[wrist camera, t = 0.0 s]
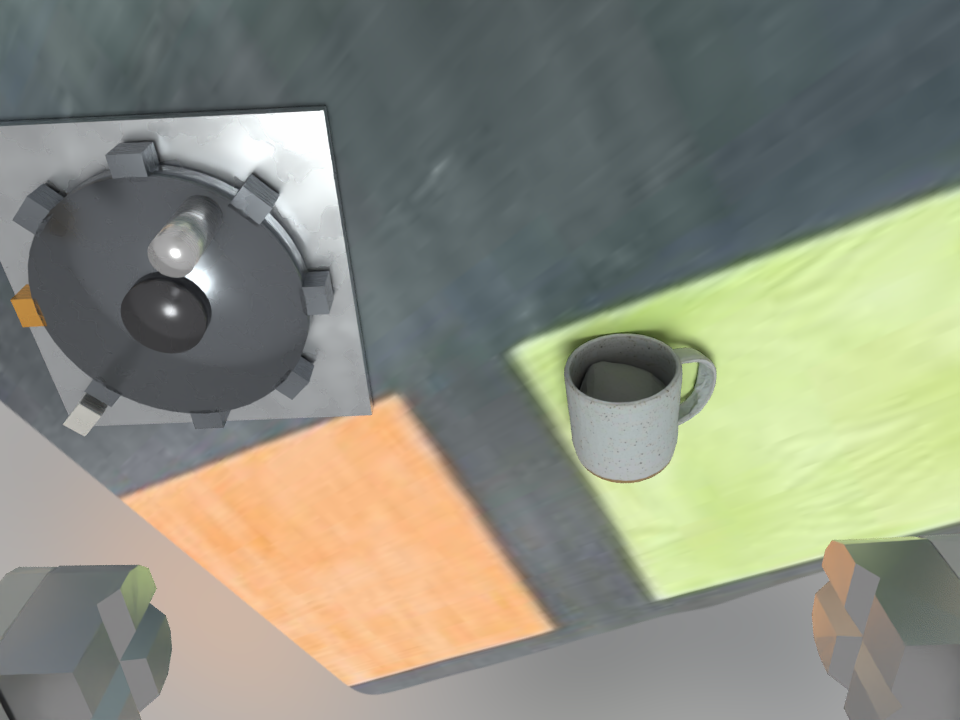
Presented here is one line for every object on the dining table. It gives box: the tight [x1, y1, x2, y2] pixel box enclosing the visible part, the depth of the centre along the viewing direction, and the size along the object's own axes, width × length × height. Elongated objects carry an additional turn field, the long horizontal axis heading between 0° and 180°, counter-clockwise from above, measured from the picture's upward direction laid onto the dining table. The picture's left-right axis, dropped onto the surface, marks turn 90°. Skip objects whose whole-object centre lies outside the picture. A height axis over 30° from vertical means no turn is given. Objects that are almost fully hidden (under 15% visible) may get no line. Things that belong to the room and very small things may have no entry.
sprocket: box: [11, 142, 334, 429], centre depth 47 cm, size 20×20×8 cm
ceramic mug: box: [564, 333, 716, 483], centre depth 52 cm, size 11×8×8 cm
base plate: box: [0, 106, 373, 436], centre depth 49 cm, size 22×22×4 cm
